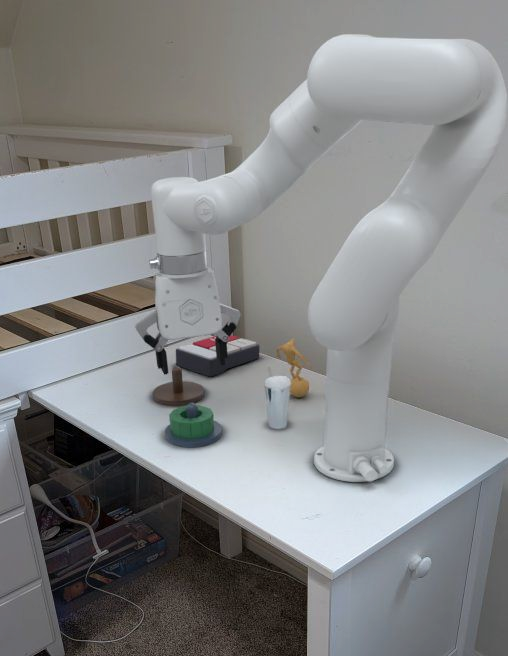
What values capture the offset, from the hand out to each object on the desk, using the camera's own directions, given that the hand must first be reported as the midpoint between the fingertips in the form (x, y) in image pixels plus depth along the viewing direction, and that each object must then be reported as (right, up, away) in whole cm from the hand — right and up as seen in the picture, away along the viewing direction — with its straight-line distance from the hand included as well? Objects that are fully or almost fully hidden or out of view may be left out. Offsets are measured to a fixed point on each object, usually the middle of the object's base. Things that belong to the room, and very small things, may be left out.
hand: (193, 367), depth 124 cm
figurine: (+18, -3, +19) cm, 27 cm away
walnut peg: (-4, -2, +22) cm, 22 cm away
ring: (-1, -10, +6) cm, 12 cm away
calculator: (+3, +7, +37) cm, 38 cm away
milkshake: (+14, -9, +9) cm, 19 cm away
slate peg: (0, -11, +6) cm, 13 cm away
